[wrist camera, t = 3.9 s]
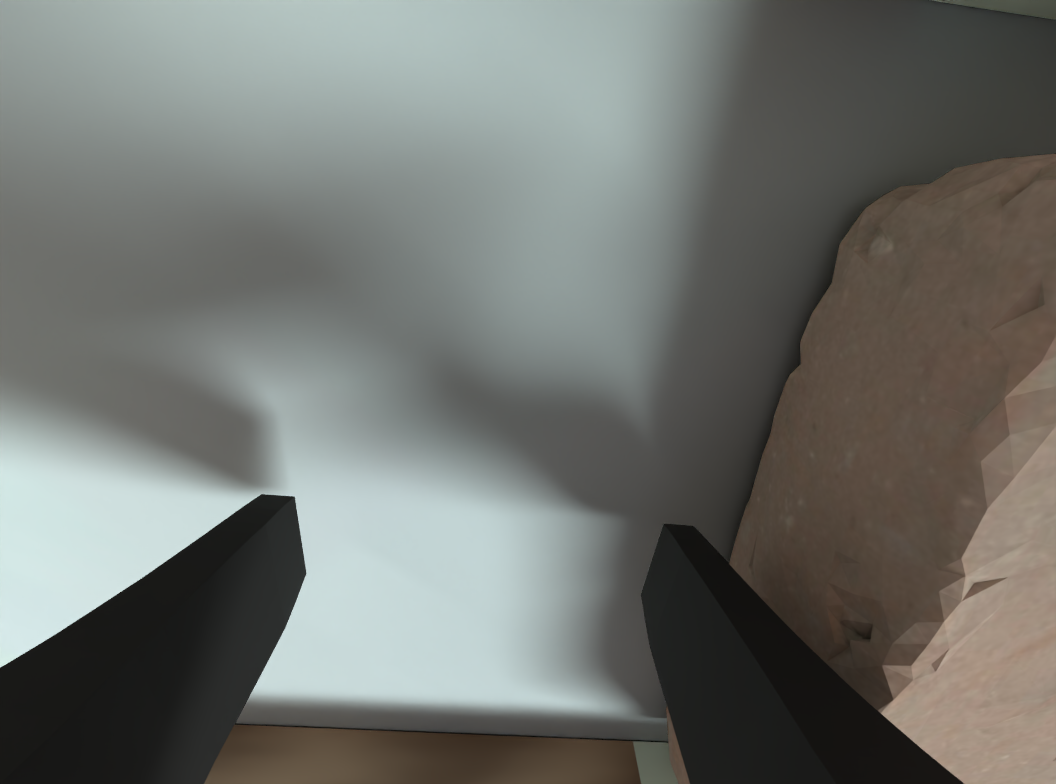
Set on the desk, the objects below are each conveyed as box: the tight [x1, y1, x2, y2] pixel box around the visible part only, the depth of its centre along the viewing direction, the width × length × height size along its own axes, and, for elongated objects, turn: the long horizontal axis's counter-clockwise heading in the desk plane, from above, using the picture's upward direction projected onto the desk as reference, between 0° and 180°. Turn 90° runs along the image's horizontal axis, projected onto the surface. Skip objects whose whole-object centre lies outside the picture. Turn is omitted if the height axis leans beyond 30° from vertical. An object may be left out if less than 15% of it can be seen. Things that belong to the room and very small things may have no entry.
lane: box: [204, 0, 1056, 784], centre depth 9 cm, size 20×22×3 cm
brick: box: [666, 154, 1056, 784], centre depth 9 cm, size 16×8×5 cm, turn 176°
